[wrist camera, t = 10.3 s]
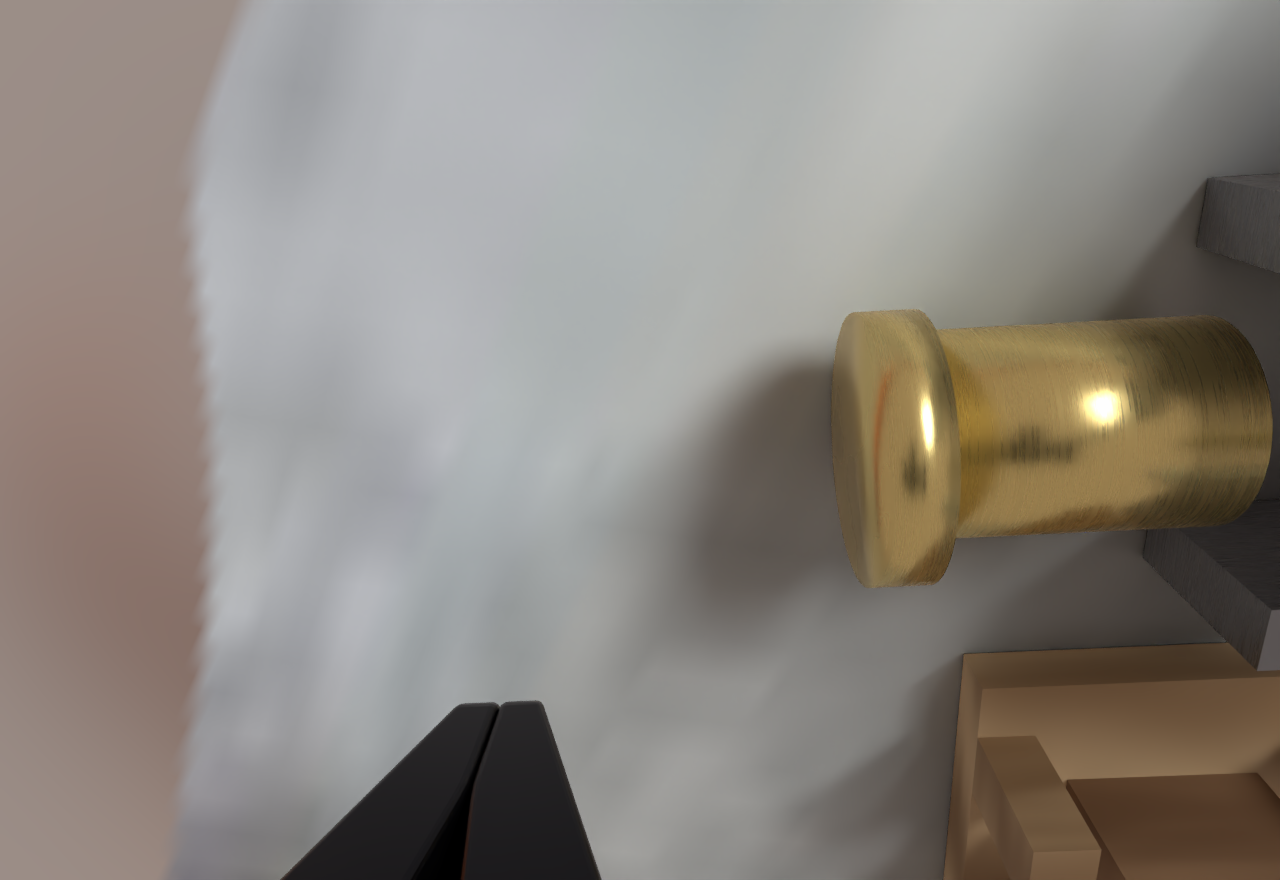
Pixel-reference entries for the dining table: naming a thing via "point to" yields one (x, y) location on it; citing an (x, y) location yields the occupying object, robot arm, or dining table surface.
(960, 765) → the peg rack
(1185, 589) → the keeper
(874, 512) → the brass bolt
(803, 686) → the dining table surface
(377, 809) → the robot arm
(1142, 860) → the walnut bar
